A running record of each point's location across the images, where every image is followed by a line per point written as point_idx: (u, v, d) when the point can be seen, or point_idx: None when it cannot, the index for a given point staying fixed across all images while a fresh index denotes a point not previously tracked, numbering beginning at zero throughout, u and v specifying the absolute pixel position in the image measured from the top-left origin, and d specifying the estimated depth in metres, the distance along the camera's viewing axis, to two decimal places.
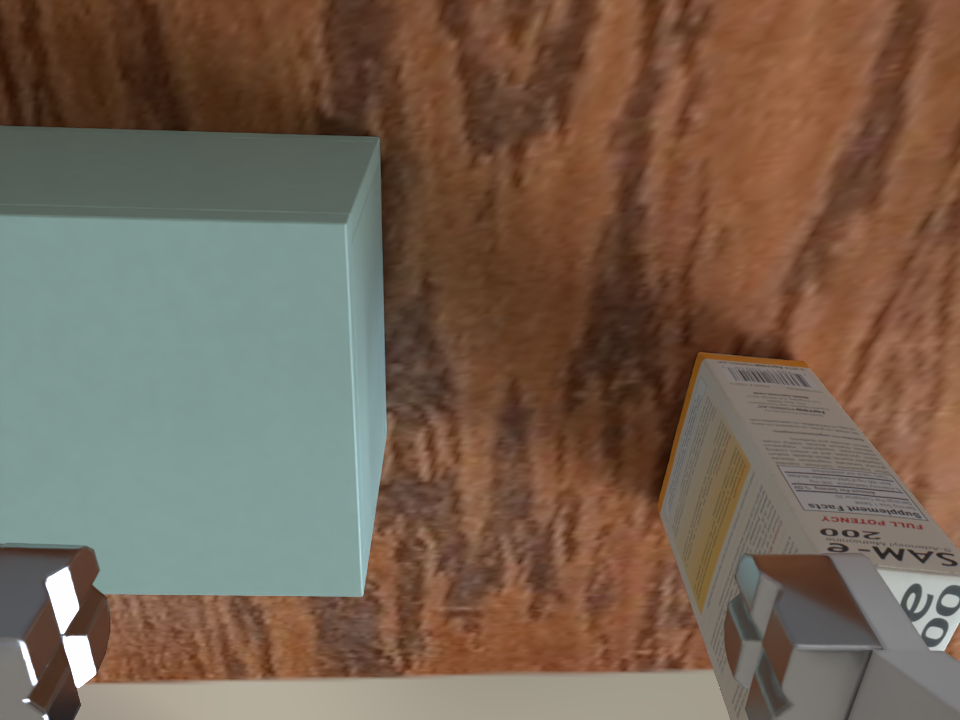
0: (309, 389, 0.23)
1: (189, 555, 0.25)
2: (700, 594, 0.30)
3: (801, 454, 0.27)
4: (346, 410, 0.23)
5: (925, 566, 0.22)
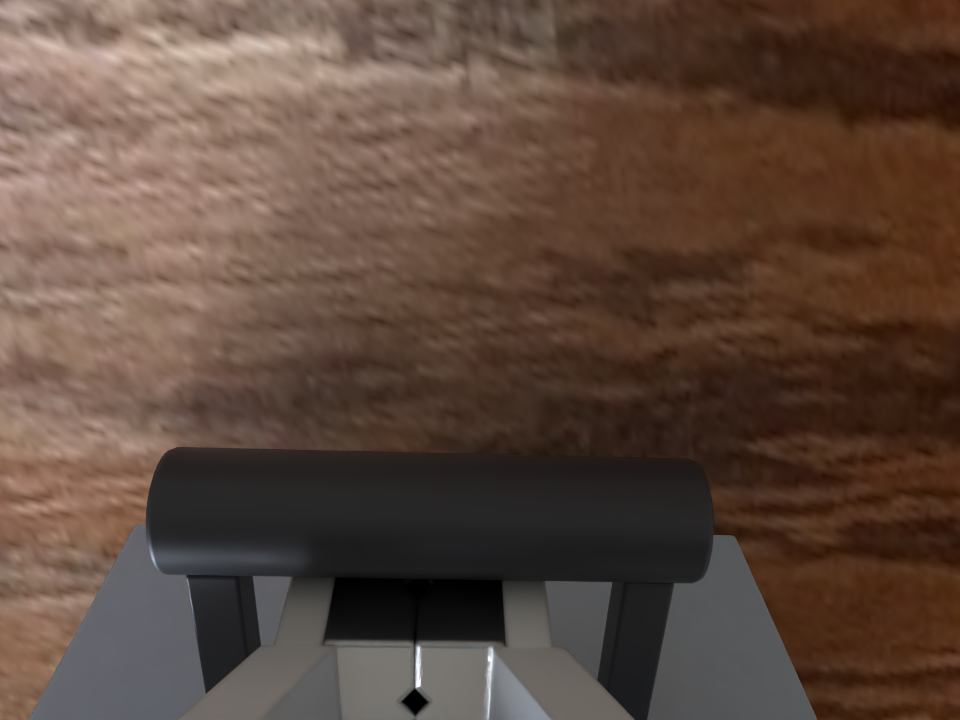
0: None
1: None
2: None
3: None
4: None
5: None
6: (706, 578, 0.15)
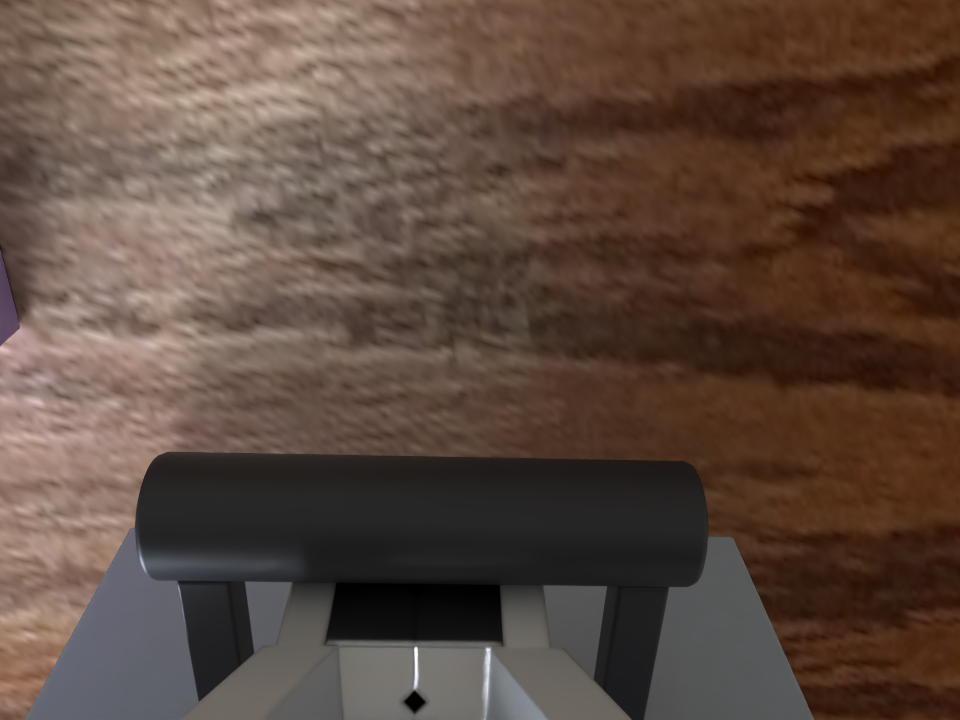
0: None
1: None
2: None
3: None
4: None
5: None
6: (704, 580, 0.14)
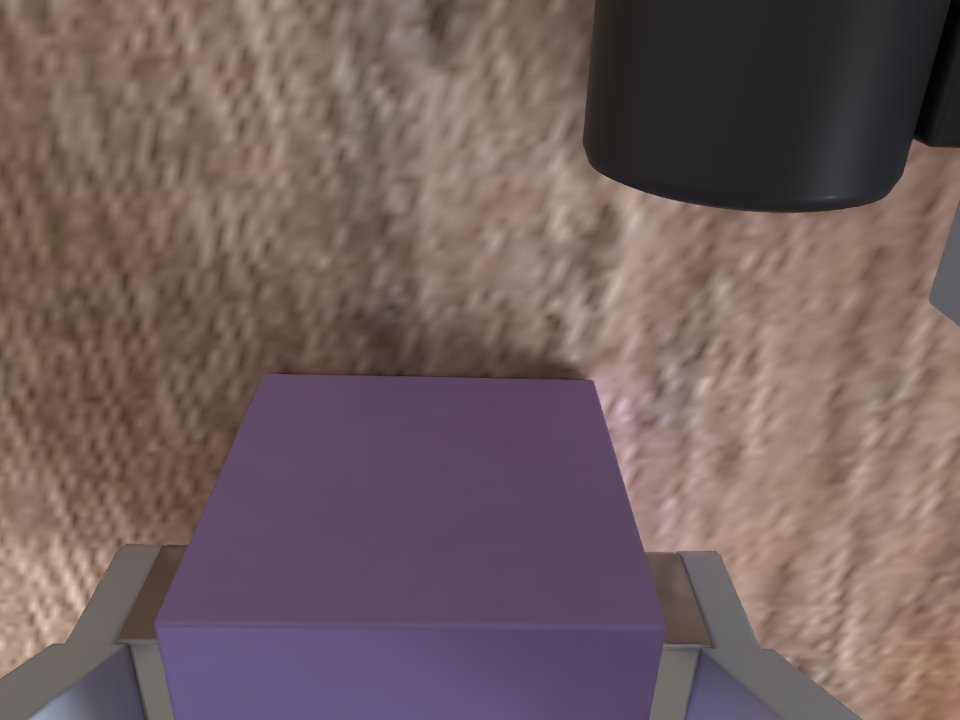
0: None
1: None
2: None
3: None
4: None
5: None
6: None
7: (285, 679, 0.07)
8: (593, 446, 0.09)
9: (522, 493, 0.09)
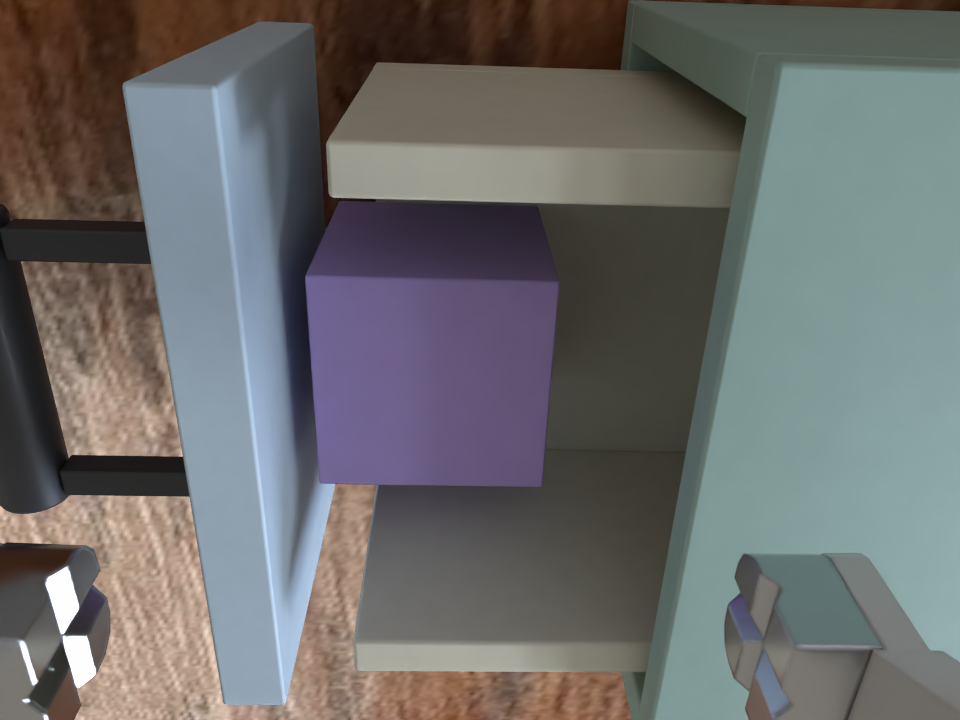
0: None
1: None
2: None
3: None
4: None
5: None
6: None
7: (368, 312, 0.14)
8: (533, 229, 0.17)
9: (491, 243, 0.16)
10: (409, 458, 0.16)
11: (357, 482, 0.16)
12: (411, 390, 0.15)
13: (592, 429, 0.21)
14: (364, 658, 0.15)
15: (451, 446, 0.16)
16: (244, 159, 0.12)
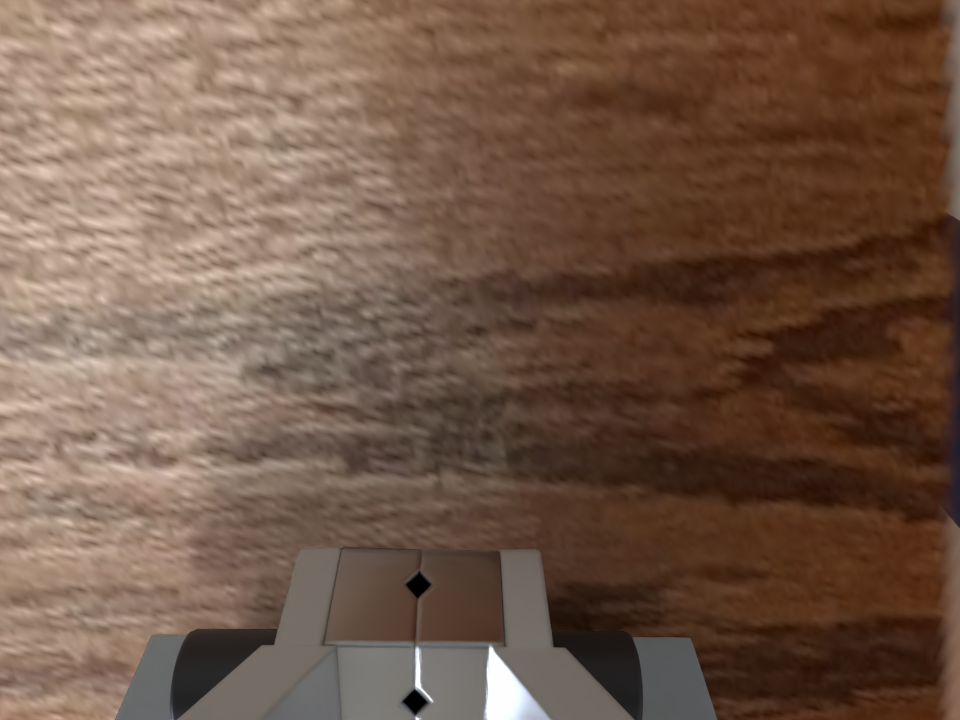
0: None
1: None
2: None
3: None
4: None
5: None
6: (662, 683, 0.16)
7: None
8: None
9: None
10: None
11: None
12: None
13: None
14: None
15: None
16: None
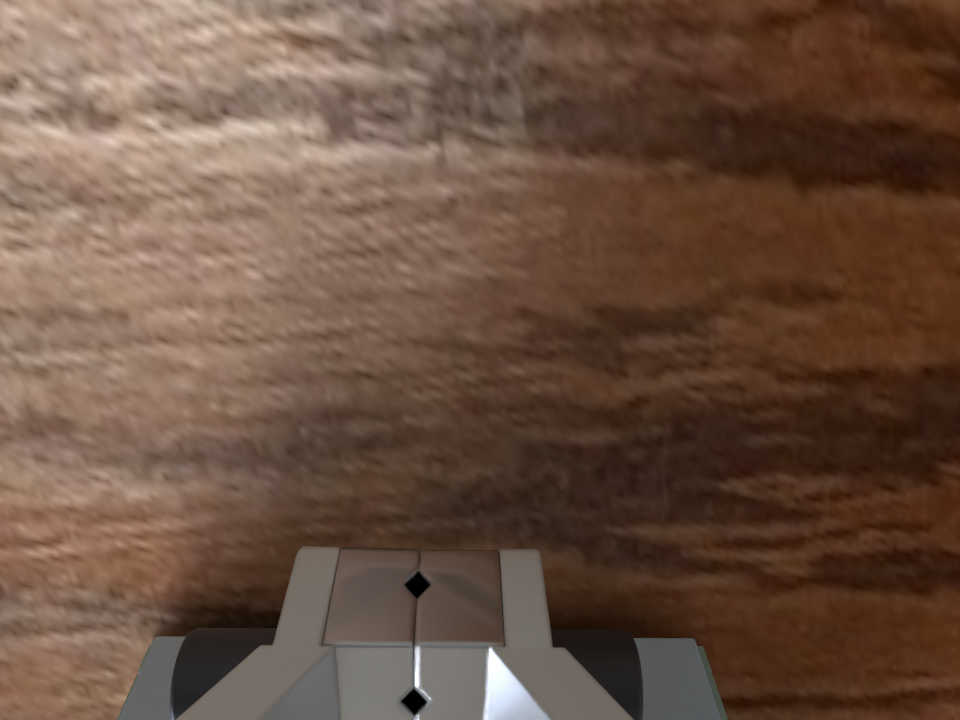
0: None
1: None
2: None
3: None
4: None
5: None
6: (666, 683, 0.16)
7: None
8: None
9: None
10: None
11: None
12: None
13: None
14: None
15: None
16: None
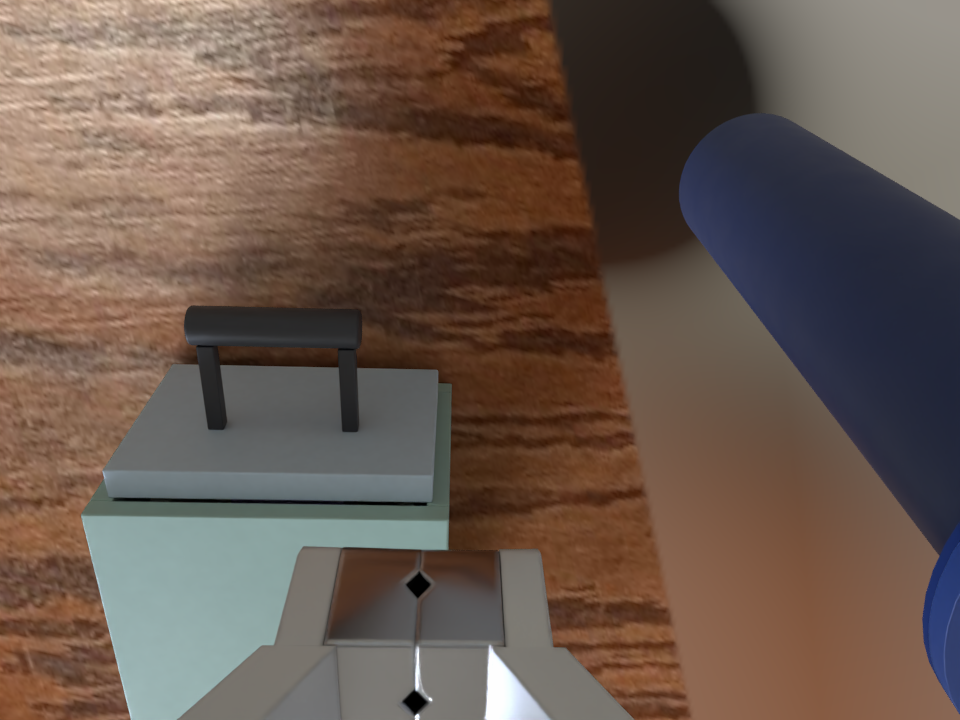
0: None
1: (168, 700, 0.32)
2: None
3: None
4: None
5: None
6: (416, 382, 0.34)
7: None
8: None
9: None
10: None
11: None
12: None
13: None
14: None
15: None
16: None
